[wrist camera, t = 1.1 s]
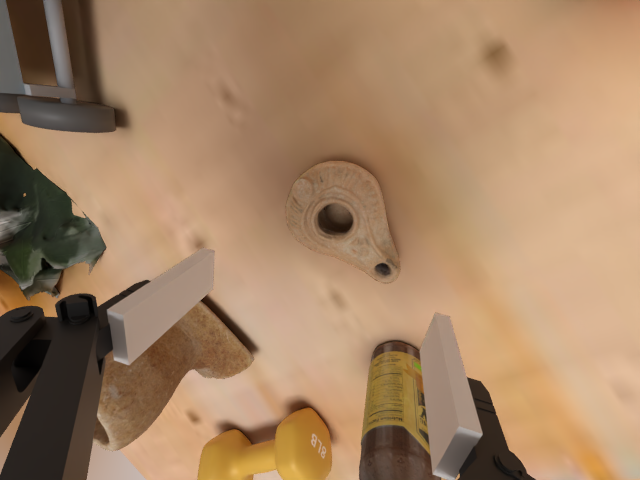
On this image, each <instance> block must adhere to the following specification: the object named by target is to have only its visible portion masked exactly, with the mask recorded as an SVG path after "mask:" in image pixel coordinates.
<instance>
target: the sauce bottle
mask: <svg viewBox="0 0 640 480" xmlns="http://www.w3.org/2000/svg"><path fill="white" fill-rule="evenodd" d="M361 448H362V449H361V460H360V466H359V479H360V480H441V477H439V476H436V475H433V473H432V464H431V454H430V445H429V435H428V426H427V417H426V407H425V398H424V388H423V379H422V369H421V360H420V352H419V351H418V350H417V349H415V348H413V347H412V346H410V345H408V344H405V343H402V342H397V341H394V342H389V343H385V344H383V345H380V346H378V347H377V348H376V350H375V351H374V353H373V356H372V360H371V365H370V368H369V375H368V383H367V393H366V402H365V411H364V420H363V429H362V438H361Z"/></svg>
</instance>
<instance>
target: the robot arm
mask: <svg viewBox="0 0 640 480" xmlns="http://www.w3.org/2000/svg"><path fill="white" fill-rule="evenodd" d="M214 252H215V251H214V250H210V249H207V248H202V249H200V250H198V251H197V252H195V253H194V254H192V255H191V256H189V257H188V258H186V259H185V260H183V261H181V262H180V263H178V264H177V265H175V266H174V267H172V268H171V269H169V270H168V271H166V272H164V273H163V274H161V275H160V276H158V277H157V278H155V279H154V280H152V281H149V280H145V281H142V282H139V283H136V284H134V285H132V286H131V287H129V288H128V289H126V290H124V291H123V292H121V293H119V295H116V296H115V297H113V298H111V299H110V300H108V301H106V302H105V303H103V304H102V305H100V306H98V307H97V303H96V297H95V296H93V295H91V294H74V295H70V296H67V297H65V298H63V299H61V300H60V301H58V302H57V303H56V305H55V307H56V312H57V316H58V317H45V316H44V312H43V309H42V308H40V307H38V306H25V307H20V308H16V309H13V310H11V311H9V312H7V313H5V314H4V315H2V316H1V317H0V437H1V435H2V434H3V432H4V431H5V430H6V428H7V427H8V426H9V424H10V423H11V421H12V420H13V419H14V417H15V416H16V414H17V413H18V412H19V410H20V409H21V407H22V406H23V405H24V403H25V402H26V400H27V399H28V398H29V396H30V395H31V396H30V398H29V401H28V404H27V406H26V409H25V411H24V414H23V417H22V419H21V422H20V425H19V427H18V430H17V432H16V435H15V438H14V440H13V443H12V446H11V448H10V451H9V453H8V456H7V459H6V461H5V464H4V466H3V469H2V472H1V474H0V480H86V479H87V473H88V467H89V461H90V454H91V449H92V443H93V437H94V431H95V424H96V418H97V412H98V406H99V400H100V394H101V388H102V382H103V376H104V369H105V363H106V360H105V356H106V355H107V354H108V353H109V352H111V351H112V350H113V357H114V360H115V361H118V362H121V363H123V364H126V365H130V364H131V363H132V362H133V361H134V360H136V359H137V358H138V357H139V356H140V355H141V354H142V353H143V352H144V351H145V350H147V349H148V348H149V347H150V346H151V345H152V344H153V343H154V342H155V341H156V340H158V339H159V338H160V337H161V336H162V335H163V334H164V333H165V332H166V331H167V330H169V329H170V328H171V327H172V326H173V325H174V324H175V323H176V322H177V321H178V320H180V319H181V318H182V317H183V316H184V315H185V314H186V313H187V312H188V311H189V310H191V309H192V308H193V307H194V306H195V305H196V304H197V303H198V302H199V301H200V300H202V299H203V298H204V297H205V296H206V295H207V294H208V293H209V292H210V291H211V290H213V281H214ZM420 360H421V369H422V379H423V388H424V398H425V407H426V417H427V426H428V435H429V445H430V454H431V464H432V473H433V475H436V476H439V477H442V478H444V479H447V480H455V479H456V477H457V475H458V474H459V473H460V478H459V479H458V480H535V479H534V478H533V477H531V476H530V475H528V474H527V472H526V469H525V467H524V466H523V464H522V462H521V461H520V460H519V459H518V458H517V457H516V456H515V454H513V453H512V452H511V451H509V449H508V446H507V443H506V440H505V437H504V434H503V432H502V429H501V426H500V423H499V420H498V417H497V415H496V411H495V409H494V406H493V403H492V400H491V397H490V394H489V392H488V391H487V389H486V388H485V387H484V385H483V384H482V383H481V381H477V380H474V379H471V378H468V377H467V376H466V373H465V369H464V365H463V362H462V358H461V355H460V351H459V348H458V344H457V341H456V337H455V333H454V330H453V326H452V323H451V319H450V316H446V315H443V314H439V313H436V312H435V314H434V316H433V319H432V321H431V324H430V326H429V329H428V331H427V334H426V336H425V339H424V341H423V343H422V346H421V348H420Z"/></svg>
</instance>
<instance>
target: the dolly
mask: <svg viewBox="0 0 640 480" xmlns="http://www.w3.org/2000/svg"><path fill="white" fill-rule="evenodd" d="M43 4H44V9H45V15H46V21H47V27H48V32H49V38H50V44H51V50H52V56H53V61H54V67H55V73H56V79H57V85H58V86H49V85H38V84H28V83H23V79H22V74H21V70H20V65H19V60H18V56H17V51H16V46H15V42H14V37H13V32H12V28H11V23H10V18H9V14H8V9H7V4H6V0H0V112H4V113H20V114H21V119H22V122H23V123H24V124H27V125H30V126H34V127H39V128H45V129H51V130H60V131H70V132H87V133H103V132H113V131H115V130H116V124H115V114H114V108H112V107H109V106H106V105H101V104H96V103H90V102H84V101H77V100H76V92H75V87H74V81H73V74H72V68H71V61H70V54H69V48H68V41H67V35H66V28H65V22H64V15H63V8H62V2H61V0H43ZM38 96H43V97H38ZM51 97H59V98H51Z"/></svg>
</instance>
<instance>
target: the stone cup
mask: <svg viewBox="0 0 640 480" xmlns="http://www.w3.org/2000/svg"><path fill="white" fill-rule="evenodd" d="M105 360H106V363H105V369H104V376H103V382H102V388H101V394H100V400H99V406H98V412H97V418H96V424H95V431H94V437H93V443H95V444H96V445H99V446H101V447H102V448H103V449H105V450H109V451H116V450H119V449H121V448H123V447H125V446H127V445H128V444H130V443H131V442H133V441H134V440H135V439H137V438H138V437H139V436H140V435H141V434H143V433H144V432H145V431H146V430H147V429H148V428H149V427H150V426H151V424H152V423H153V422H154V421H155V420H156V418H157V417H158V416H159V415H160V413H161V412H162V410H163V409H164V407H165V406H166V404H167V403H168V401H169V400H170V398H171V397H172V395H173V393H174V391H175V389H176V388H177V386H178V385H179V383H180V381H181V380H182V378H183V377H184V376H185V374H186V373H187V372H188V371H189V370H192V369H195V370H196V371H197V372H198V373H200V374H201V375H202V376H203V377H205V378H206V377H207V378H212V377H214V378H216V379H225V378H229V377H232V376H234V375H236V374H238V373H240V372H242V371H243V370H245V369H247V368H248V367H249V366H250V365H251V363H252V362H253V360H254V357H253V356H252V354H251V353H250V352H249V351H248V350H247V348H246V347H245V346H244V345H243V344H242V343H241V342H240V341H239V340H238V338H237V337H236V336H235V335H234V334H233V333H232V332H231V331H230V330H229V329H228V328H227V326H226V325H225V324H224V323H223V322H222V321H221V320H220V319H219V318H218V317H217V316H216V315H215V314H214V313H213V312H212V311H211V310H210V309H209V308H208V307H207V306H206V305H205V304H204V303H203V302H202V301H201V300H200V301H199V302H198V303H197V304H196V305H195V306H194V307H193V308H192V309H191V310H189V311H188V312H187V313H186V314H185V315H184V316H183V317H182V318H181V319H180V320H178V321H177V322H176V323H175V324H174V325H173V326H172V327H171V328H170V329H169V330H167V331H166V332H165V333H164V334H163V335H162V336H161V337H160V338H159V339H158V340H156V341H155V342H154V343H153V344H152V345H151V346H150V347H149V348H148V349H147V350H145V351H144V352H143V353H142V354H141V355H140V356H139V357H138V358H137V359H136V360H134V361H133V362H132V363H131V364H130V365H126V364H123V363H121V362H118V361H115V360H114V357H113V350H112V351H111V352H109V353H108V354H107V355H106V356H105Z"/></svg>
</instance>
